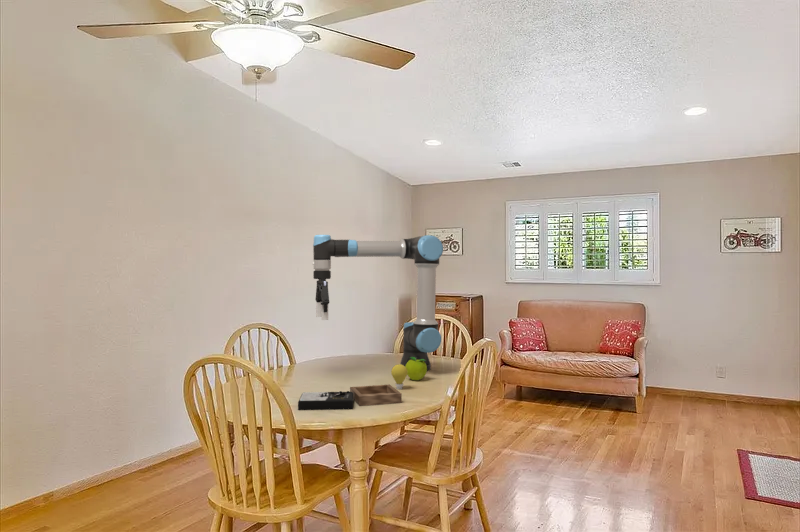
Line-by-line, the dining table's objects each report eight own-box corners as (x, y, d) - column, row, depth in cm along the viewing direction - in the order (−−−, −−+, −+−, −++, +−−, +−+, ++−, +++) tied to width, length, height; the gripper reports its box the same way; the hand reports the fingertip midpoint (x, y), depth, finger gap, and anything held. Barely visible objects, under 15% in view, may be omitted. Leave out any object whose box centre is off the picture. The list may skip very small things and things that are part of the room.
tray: (389, 392, 215) (389, 384, 215) (401, 402, 199) (401, 393, 199) (350, 395, 210) (350, 387, 210) (359, 406, 195) (359, 396, 195)
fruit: (415, 376, 246) (415, 354, 246) (430, 380, 239) (430, 357, 239) (401, 379, 239) (401, 357, 239) (416, 383, 233) (416, 360, 233)
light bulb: (390, 386, 225) (390, 363, 225) (406, 386, 226) (406, 362, 226) (391, 390, 219) (391, 366, 219) (408, 390, 219) (408, 365, 219)
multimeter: (352, 410, 190) (352, 396, 190) (297, 411, 189) (297, 397, 189) (353, 401, 203) (353, 387, 203) (302, 401, 202) (302, 388, 202)
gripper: (309, 269, 247) (309, 316, 247) (318, 270, 223) (318, 321, 223) (325, 269, 249) (325, 315, 250) (336, 270, 226) (336, 320, 226)
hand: (322, 318), depth 236 cm, fingers open, 13 cm apart
